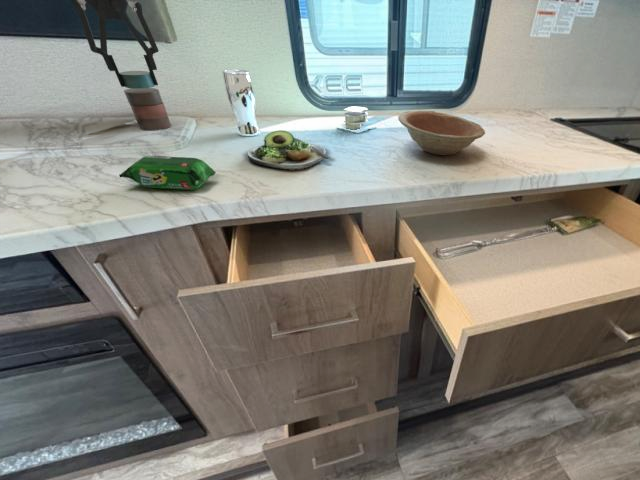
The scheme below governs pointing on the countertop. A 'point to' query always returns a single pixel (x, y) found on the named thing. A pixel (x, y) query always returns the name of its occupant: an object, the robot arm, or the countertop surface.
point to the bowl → (440, 131)
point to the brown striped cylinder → (148, 108)
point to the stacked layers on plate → (355, 117)
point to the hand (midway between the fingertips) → (139, 84)
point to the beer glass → (241, 100)
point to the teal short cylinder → (137, 79)
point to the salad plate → (286, 152)
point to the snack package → (169, 172)
